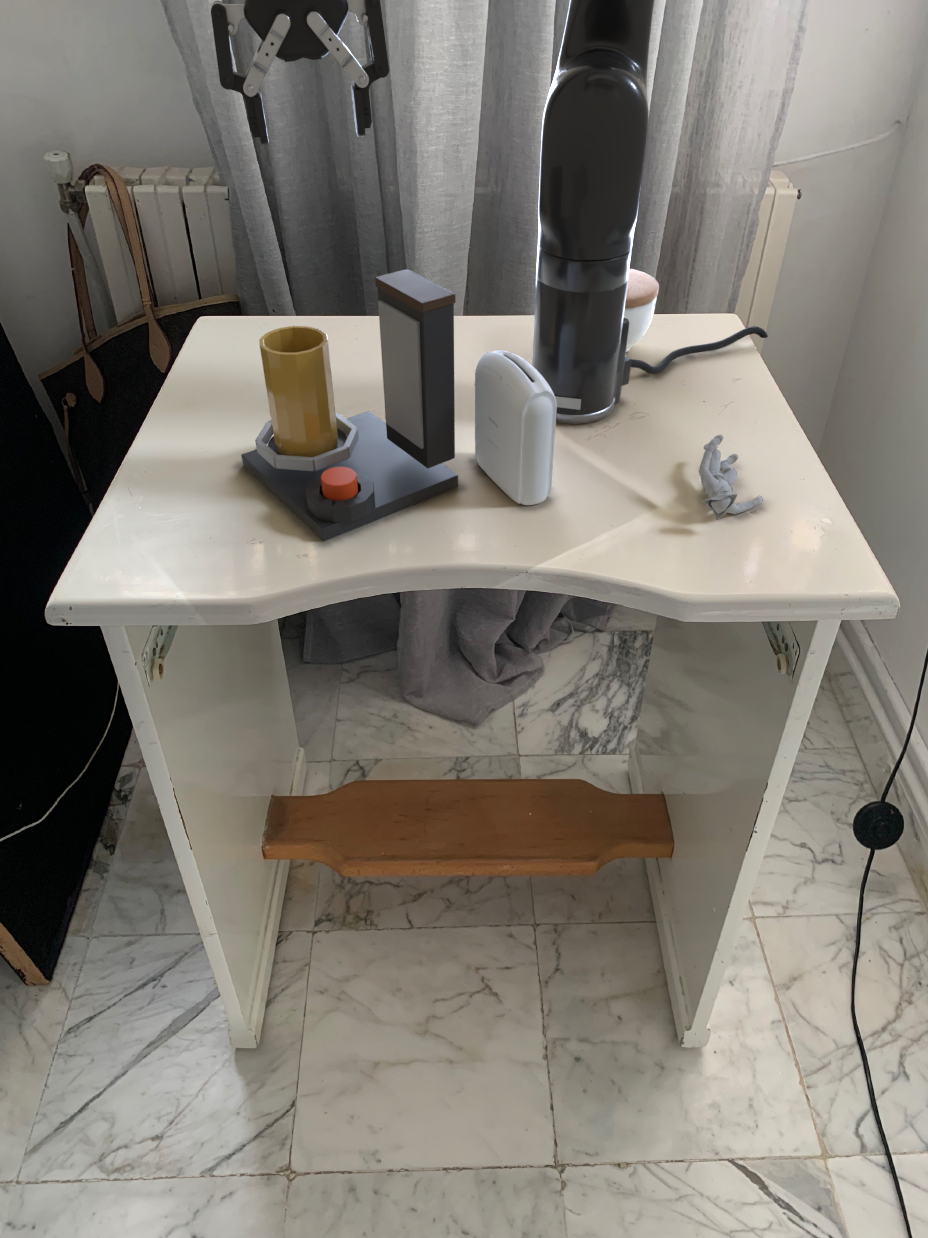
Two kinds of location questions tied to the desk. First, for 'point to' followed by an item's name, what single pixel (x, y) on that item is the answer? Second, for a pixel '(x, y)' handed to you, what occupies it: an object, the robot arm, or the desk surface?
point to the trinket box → (639, 304)
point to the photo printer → (514, 426)
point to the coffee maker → (402, 377)
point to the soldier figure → (721, 481)
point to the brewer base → (380, 478)
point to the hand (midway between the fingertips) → (313, 138)
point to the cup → (299, 390)
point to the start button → (339, 483)
